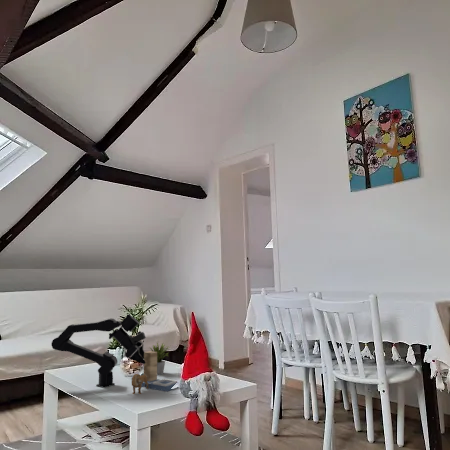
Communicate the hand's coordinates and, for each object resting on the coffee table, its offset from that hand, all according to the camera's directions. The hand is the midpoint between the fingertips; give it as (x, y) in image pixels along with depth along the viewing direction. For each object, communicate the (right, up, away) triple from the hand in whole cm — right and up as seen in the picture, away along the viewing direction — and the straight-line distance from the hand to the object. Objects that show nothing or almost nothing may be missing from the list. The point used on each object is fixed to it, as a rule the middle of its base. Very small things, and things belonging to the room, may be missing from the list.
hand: (146, 361), depth 196 cm
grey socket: (+10, -7, -8) cm, 15 cm away
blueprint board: (+7, -10, -6) cm, 13 cm away
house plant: (+3, -14, +21) cm, 25 cm away
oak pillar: (+2, -9, -1) cm, 9 cm away
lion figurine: (0, -9, -15) cm, 18 cm away
